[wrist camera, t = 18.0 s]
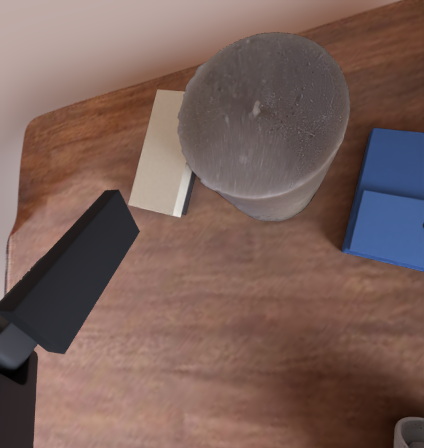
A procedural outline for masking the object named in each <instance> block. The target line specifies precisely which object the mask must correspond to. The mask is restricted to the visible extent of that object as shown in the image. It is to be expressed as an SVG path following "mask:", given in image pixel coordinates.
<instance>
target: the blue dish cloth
mask: <svg viewBox="0 0 424 448" xmlns="http://www.w3.org/2000/svg"><path fill="white" fill-rule="evenodd" d="M423 223H424V133H421V132H411V131H401V130H392V129H382V128H373V129H372V130H371V132H370V133H369V137H368V142H367V146H366V150H365V154H364V158H363V163H362V167H361V171H360V175H359V179H358V184H357V188H356V192H355V196H354V200H353V204H352V209H351V213H350V217H349V221H348V225H347V230H346V234H345V238H344V242H343V246H342V251H341V252H343V253H348V254H352V255H356V256H360V257H364V258H369V259H373V260H377V261H381V262H385V263H389V264H394V265H398V266H402V267H406V268H410V269H415V270H419V271H423V272H424V228H423V226H422V225H423Z"/></svg>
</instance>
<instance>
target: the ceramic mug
mask: <svg viewBox="0 0 424 448" xmlns="http://www.w3.org/2000/svg"><path fill="white" fill-rule="evenodd" d="M394 448H424V418H421V417H406V418H402V419H401V420H399V421H398V422H397V424H396V426H395V434H394Z"/></svg>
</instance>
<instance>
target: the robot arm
mask: <svg viewBox="0 0 424 448" xmlns="http://www.w3.org/2000/svg"><path fill="white" fill-rule="evenodd" d="M422 226H423V228H424V223H423V225H422ZM139 232H140V231H139V229H138V227H137V225H136V223H135V221H134V219H133V217H132V215H131V213H130V211H129V209H128V207H127V205H126V203H125V201H124V199H123V197H122V195H121V193H120V191H119V189H118V190H105V191H104V193H103V194H102V195H101V196H100V197H99V198H98V199H97V200H96V201H95V202H94V203H93V204H92V205H91V206H90V208H89V209H88V210H87V211H86V212H85V213H84V214H83V215H82V216H81V217H80V218H79V219H78V220H77V221H76V223H75V224H74V225H73V226H72V227H71V228H70V229H69V230H68V231H67V232H66V233H65V234H64V235H63V236H62V237H61V239H60V240H59V241H58V242H57V243H56V244H55V245H54V246H53V247H52V248H51V249H50V250H49V251H48V252H47V254H46V255H44V256H43V257H42V258H40V259H39V260H38V261H37V262H36V263H35V265H34V266H33V267H32V268H31V269H30V271H28V272H27V273H26V274H25V275H24V276H23V277H22V280H19V282H18V283H17V284H16V285H15V286H14V287H13V288H12V289H11V290H10V291H9V292H8V293H7V294H6V295H5V296H4V298H3V299H2V300H1V301H0V448H33V441H34V422H35V402H36V383H37V363H38V356H37V353H36V352H35V351H34V348H35V347H36V346H37V344H39V345H40V346H41V347H43V348H44V349H45V350H46V351H48V352H54V353H60V354H65V352H66V351H67V349H68V348H69V346H70V344H71V343H72V341H73V339H74V338H75V336H76V335H77V333H78V331H79V330H80V328H81V326H82V325H83V323H84V322H85V320H86V318H87V317H88V315H89V313H90V312H91V310H92V309H93V307H94V305H95V304H96V302H97V300H98V299H99V297H100V296H101V294H102V292H103V291H104V289H105V287H106V286H107V284H108V283H109V281H110V279H111V278H112V276H113V274H114V273H115V271H116V270H117V268H118V266H119V265H120V263H121V261H122V260H123V258H124V257H125V255H126V253H127V252H128V250H129V248H130V247H131V245H132V244H133V242H134V240H135V239H136V237H137V235H138V234H139Z"/></svg>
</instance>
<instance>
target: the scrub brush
mask: <svg viewBox="0 0 424 448" xmlns="http://www.w3.org/2000/svg"><path fill="white" fill-rule="evenodd" d="M184 93H185V92H183V91H170V90H157V93H156V97H155V101H154V105H153V109H152V113H151V117H150V121H149V125H148V129H147V133H146V137H145V140H144V144H143V148H142V152H141V156H140V160H139V164H138V168H137V172H136V176H135V180H134V184H133V188H132V191H131V195H130V199H129V203H128V205H131V206H135V207H138V208H142V209H147V210H151V211H155V212H159V213H163V214H167V215H171V216H175V217H179V218H180V217H181V214H184V215H186V212H187V208H188V204H189V200H190V196H191V192H192V188H193V184H194V180H195V176H196V174H195V173H194V172H193V171H192V170H191V168H190V166H189V164H188V162H187V161H186V159H185V157H184V155H183V153H182V152H181V150H182V147H181V144H180V140H179V135H178V133H177V131H178V125H179V119H178V118H177V117H178V113H179V111H180V108H181V105H182V101H183V94H184Z"/></svg>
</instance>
